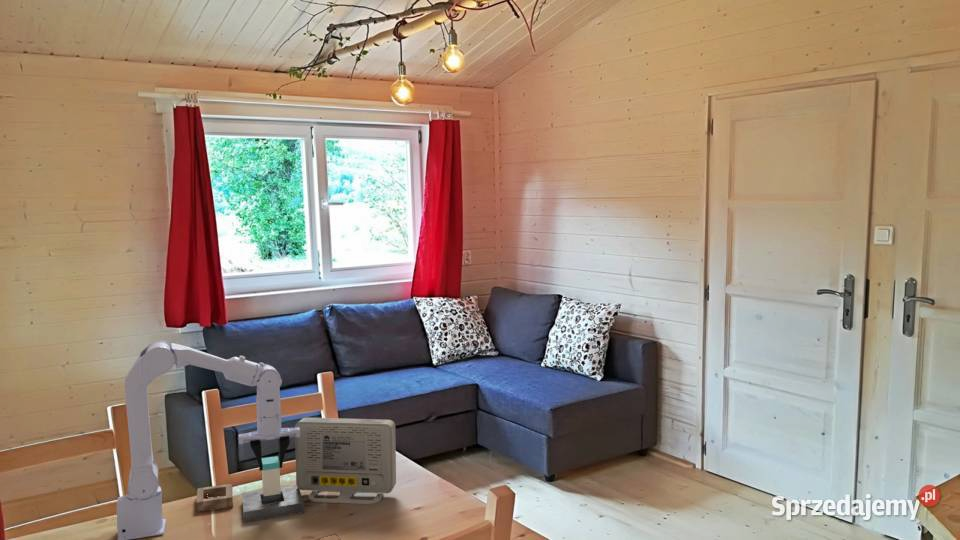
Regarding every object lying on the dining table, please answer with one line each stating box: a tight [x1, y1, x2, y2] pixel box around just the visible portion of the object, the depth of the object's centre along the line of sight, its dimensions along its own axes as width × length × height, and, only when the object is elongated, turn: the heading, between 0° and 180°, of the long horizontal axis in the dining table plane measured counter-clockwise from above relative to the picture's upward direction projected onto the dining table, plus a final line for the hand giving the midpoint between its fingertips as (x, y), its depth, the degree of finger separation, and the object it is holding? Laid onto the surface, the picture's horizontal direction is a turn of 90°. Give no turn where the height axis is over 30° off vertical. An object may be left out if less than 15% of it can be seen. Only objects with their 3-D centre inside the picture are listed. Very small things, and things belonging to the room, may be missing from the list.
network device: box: [294, 417, 397, 505], centre depth 177 cm, size 26×9×20 cm, turn 84°
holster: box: [196, 483, 234, 513], centre depth 175 cm, size 8×9×2 cm
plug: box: [261, 455, 281, 496], centre depth 171 cm, size 4×5×8 cm
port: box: [241, 485, 305, 523], centre depth 171 cm, size 14×12×2 cm
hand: (270, 467), depth 171 cm, fingers closed on plug, 4 cm apart
